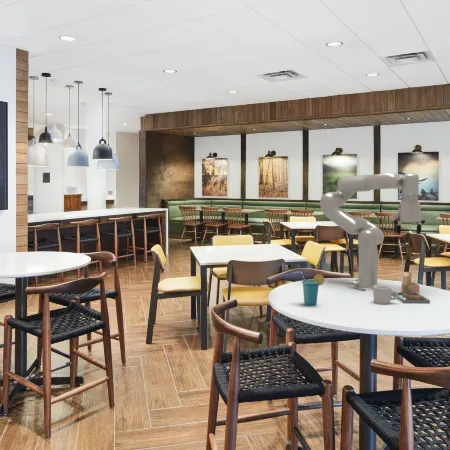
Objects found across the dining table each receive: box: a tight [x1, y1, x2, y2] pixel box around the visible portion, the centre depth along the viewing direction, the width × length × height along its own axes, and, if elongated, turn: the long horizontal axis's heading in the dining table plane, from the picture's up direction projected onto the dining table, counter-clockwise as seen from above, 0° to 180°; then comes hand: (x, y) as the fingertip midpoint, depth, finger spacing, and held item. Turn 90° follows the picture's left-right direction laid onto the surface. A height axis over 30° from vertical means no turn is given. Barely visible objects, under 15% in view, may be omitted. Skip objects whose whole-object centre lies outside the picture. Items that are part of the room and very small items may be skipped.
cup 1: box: [292, 270, 325, 307], centre depth 209 cm, size 14×8×15 cm, turn 78°
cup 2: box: [372, 284, 399, 305], centre depth 210 cm, size 11×8×8 cm
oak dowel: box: [402, 271, 413, 299], centre depth 221 cm, size 4×4×12 cm
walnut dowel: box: [405, 295, 425, 300], centre depth 212 cm, size 7×3×3 cm, turn 90°
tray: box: [391, 291, 431, 305], centre depth 218 cm, size 12×16×2 cm
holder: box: [401, 281, 420, 294], centre depth 230 cm, size 6×6×6 cm
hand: (408, 233), depth 230 cm, fingers open, 9 cm apart
